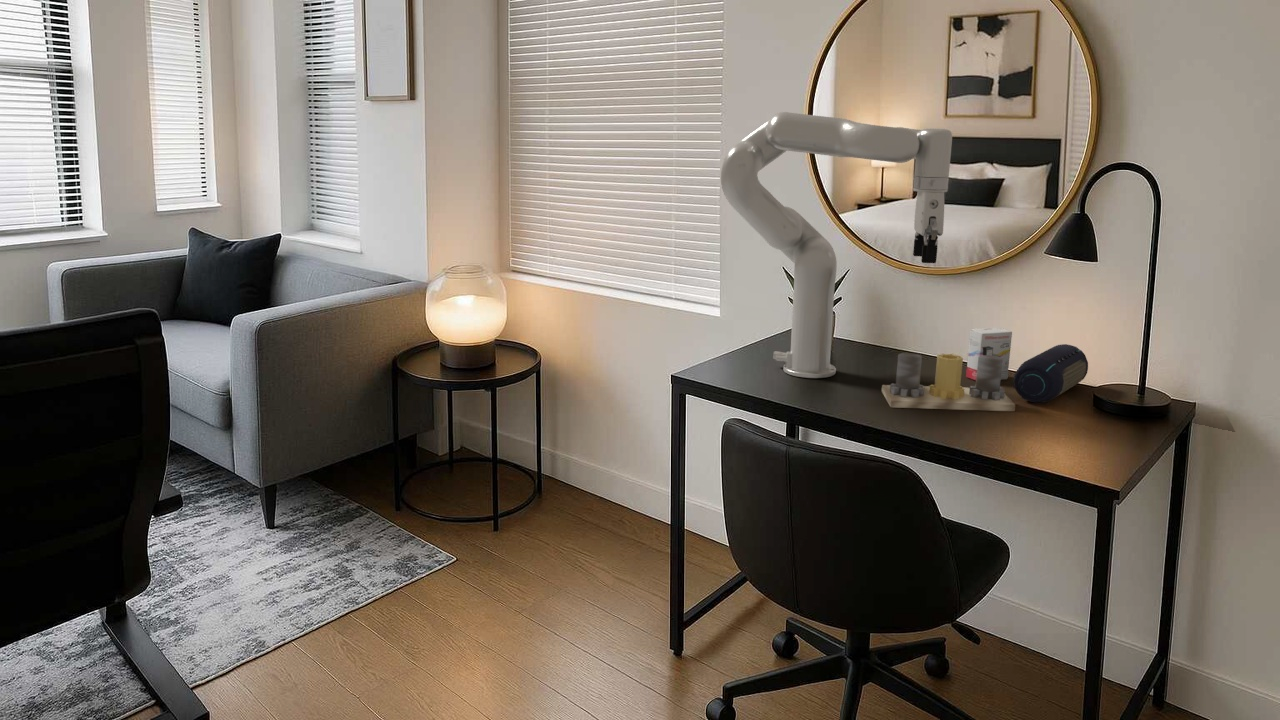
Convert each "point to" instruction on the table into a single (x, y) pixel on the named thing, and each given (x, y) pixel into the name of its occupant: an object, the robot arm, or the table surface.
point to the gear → (948, 377)
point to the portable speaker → (1050, 373)
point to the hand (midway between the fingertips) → (924, 259)
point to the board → (975, 398)
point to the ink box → (988, 348)
